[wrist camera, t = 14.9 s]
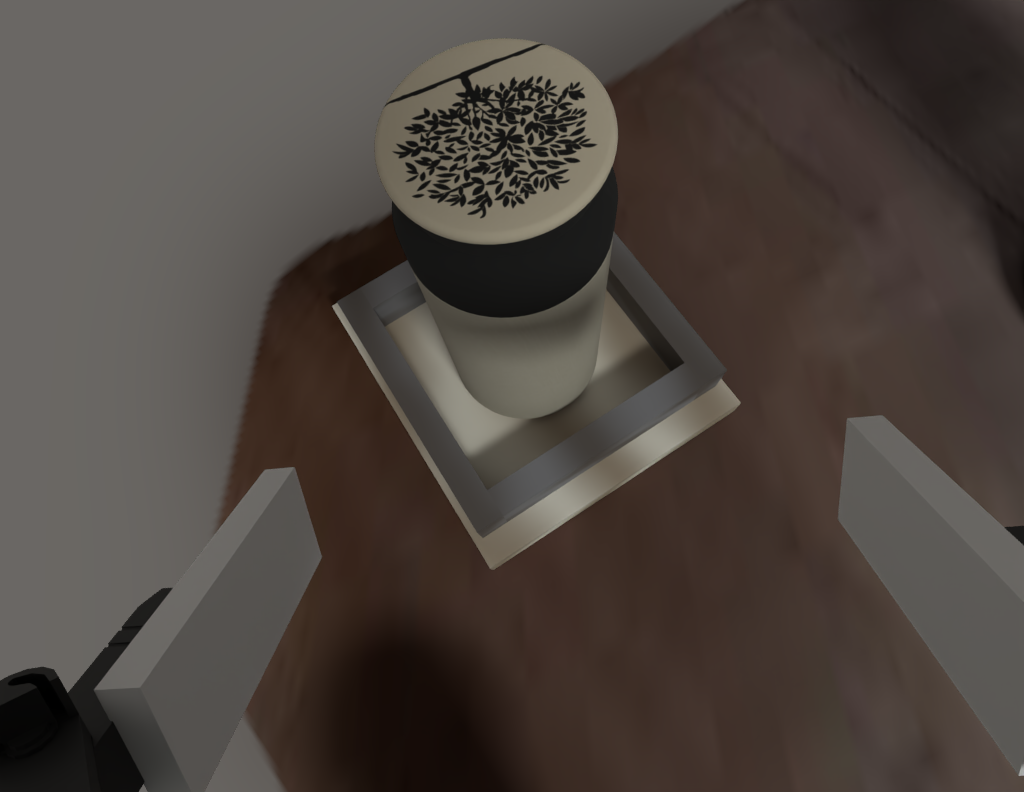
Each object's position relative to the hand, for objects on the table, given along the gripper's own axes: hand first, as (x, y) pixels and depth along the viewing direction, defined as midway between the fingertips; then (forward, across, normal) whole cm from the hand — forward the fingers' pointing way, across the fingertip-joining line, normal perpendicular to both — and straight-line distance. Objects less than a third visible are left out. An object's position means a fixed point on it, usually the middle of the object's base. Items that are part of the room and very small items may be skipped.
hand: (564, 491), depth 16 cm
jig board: (+22, -2, -5) cm, 23 cm away
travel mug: (+21, -2, -4) cm, 22 cm away
